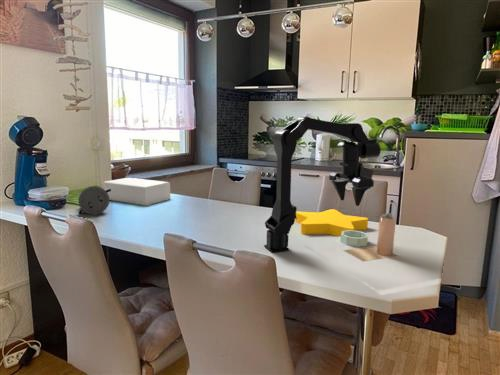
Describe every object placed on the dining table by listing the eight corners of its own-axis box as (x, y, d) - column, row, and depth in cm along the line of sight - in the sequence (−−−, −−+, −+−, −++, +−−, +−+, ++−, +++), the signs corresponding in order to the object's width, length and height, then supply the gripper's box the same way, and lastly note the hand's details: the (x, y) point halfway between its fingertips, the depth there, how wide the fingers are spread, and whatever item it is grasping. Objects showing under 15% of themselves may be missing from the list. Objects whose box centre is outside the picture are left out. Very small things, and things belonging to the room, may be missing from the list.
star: (345, 208, 164) (385, 226, 137) (344, 217, 165) (384, 237, 138) (284, 212, 156) (314, 231, 128) (283, 221, 156) (313, 243, 129)
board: (362, 264, 109) (363, 261, 109) (342, 253, 118) (343, 250, 118) (398, 258, 114) (398, 255, 114) (376, 248, 124) (377, 245, 123)
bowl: (351, 250, 121) (352, 239, 121) (335, 241, 130) (336, 231, 129) (372, 247, 125) (373, 236, 124) (356, 239, 133) (356, 229, 132)
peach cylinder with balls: (384, 257, 113) (387, 216, 110) (373, 251, 117) (376, 212, 115) (395, 255, 115) (399, 214, 112) (385, 250, 119) (388, 211, 117)
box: (146, 206, 181) (145, 187, 179) (104, 199, 194) (103, 181, 192) (170, 199, 197) (170, 182, 195) (130, 193, 210) (129, 177, 209)
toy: (123, 204, 157) (114, 195, 183) (105, 179, 152) (99, 174, 179) (87, 227, 151) (83, 215, 177) (67, 203, 147) (66, 194, 173)
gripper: (388, 160, 119) (386, 206, 122) (354, 155, 136) (353, 195, 139) (359, 163, 116) (358, 210, 119) (328, 157, 133) (328, 198, 136)
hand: (349, 203), depth 128 cm, fingers open, 9 cm apart
